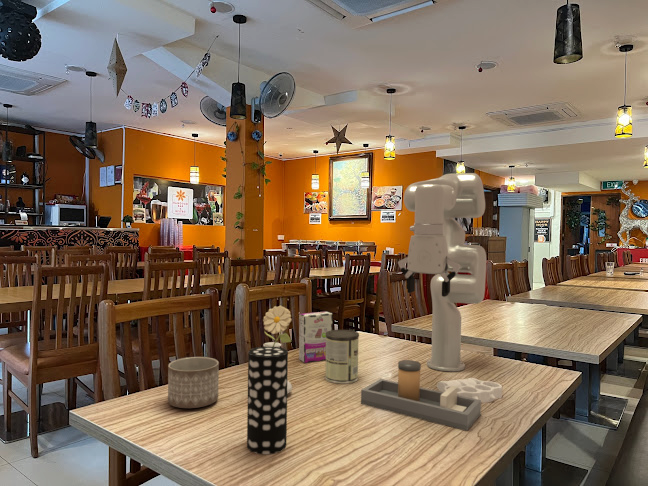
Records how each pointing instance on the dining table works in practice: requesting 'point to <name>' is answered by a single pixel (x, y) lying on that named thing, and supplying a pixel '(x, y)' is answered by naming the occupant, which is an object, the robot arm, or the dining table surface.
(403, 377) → the jar
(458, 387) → the knuckle duster
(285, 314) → the flower in vase
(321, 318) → the candy bar box
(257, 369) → the white-spotted black cylinder
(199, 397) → the planter
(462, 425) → the grey rectangular tray
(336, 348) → the coffee can
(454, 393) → the plate
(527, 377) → the dining table surface
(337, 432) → the dining table surface
